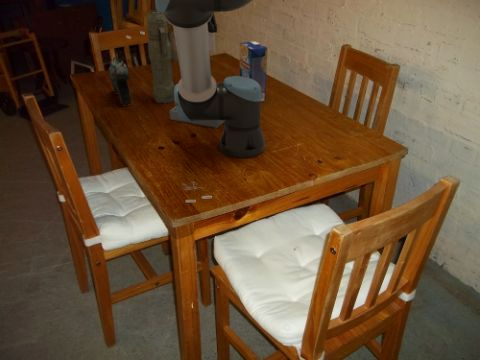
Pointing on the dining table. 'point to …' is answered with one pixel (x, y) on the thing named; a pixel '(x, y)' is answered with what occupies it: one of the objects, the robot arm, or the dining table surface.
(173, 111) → the box
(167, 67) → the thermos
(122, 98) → the ceramic cat
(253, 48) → the beverage box
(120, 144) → the dining table surface
